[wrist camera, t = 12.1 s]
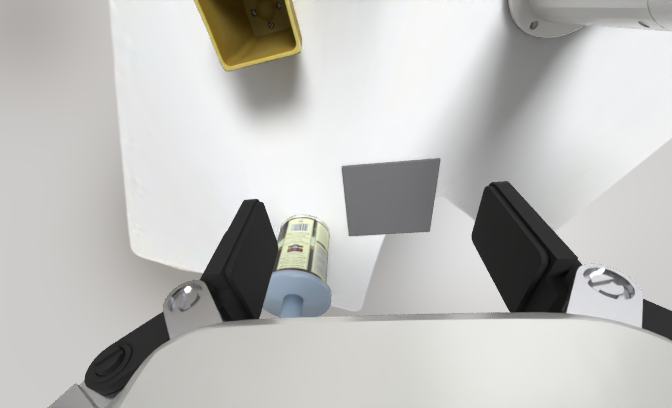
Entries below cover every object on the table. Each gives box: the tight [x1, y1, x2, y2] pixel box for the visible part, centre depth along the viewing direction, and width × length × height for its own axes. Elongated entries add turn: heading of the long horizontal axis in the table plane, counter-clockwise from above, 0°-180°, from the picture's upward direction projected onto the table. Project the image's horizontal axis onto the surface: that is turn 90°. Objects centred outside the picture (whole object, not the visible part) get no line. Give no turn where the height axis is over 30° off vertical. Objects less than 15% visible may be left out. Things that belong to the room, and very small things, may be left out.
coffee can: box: [272, 215, 330, 283], centre depth 48 cm, size 10×10×14 cm
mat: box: [342, 158, 440, 236], centre depth 48 cm, size 16×16×1 cm
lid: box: [262, 270, 331, 318], centre depth 40 cm, size 12×12×6 cm
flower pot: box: [194, 0, 302, 71], centre depth 28 cm, size 9×9×9 cm
